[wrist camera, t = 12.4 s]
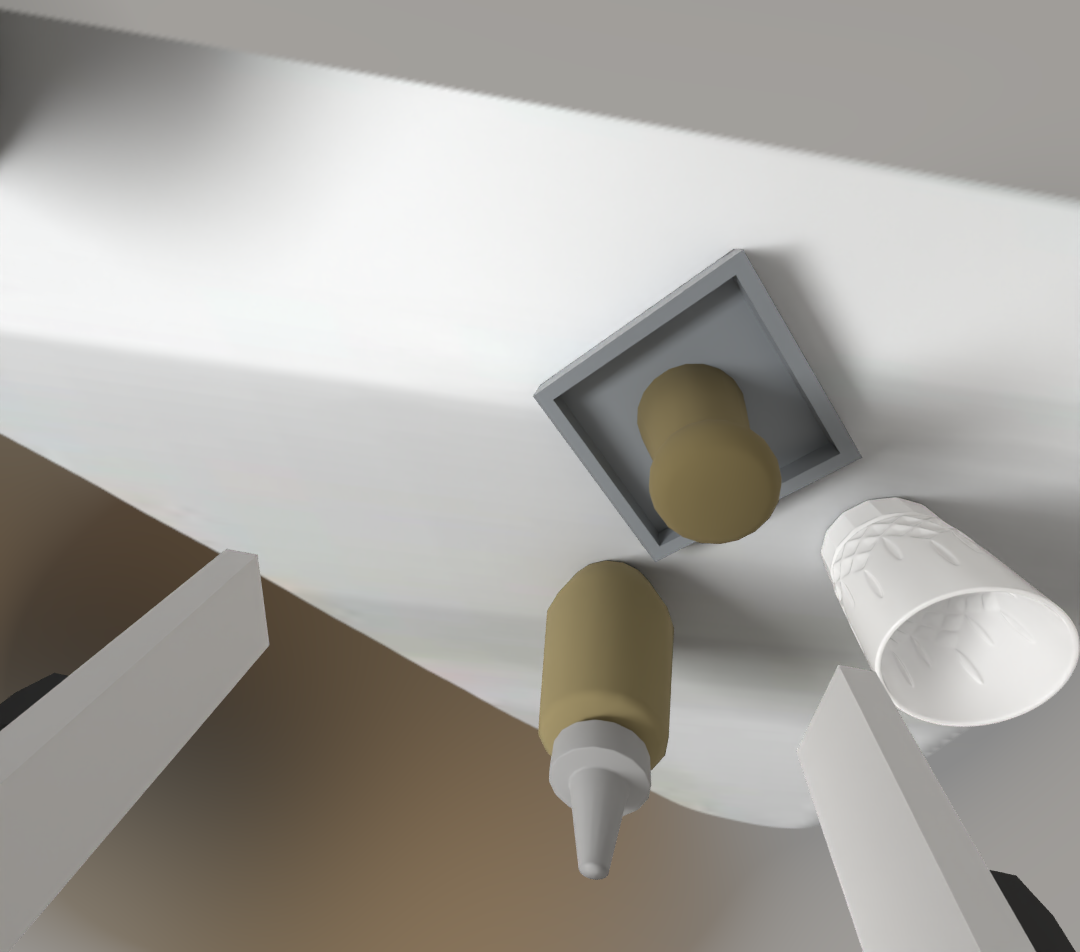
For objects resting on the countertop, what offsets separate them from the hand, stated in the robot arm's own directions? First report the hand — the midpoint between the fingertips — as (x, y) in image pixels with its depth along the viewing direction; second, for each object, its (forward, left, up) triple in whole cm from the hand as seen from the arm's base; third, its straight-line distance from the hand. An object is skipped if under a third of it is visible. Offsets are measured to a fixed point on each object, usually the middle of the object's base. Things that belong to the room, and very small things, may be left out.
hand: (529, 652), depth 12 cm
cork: (+4, +4, -21) cm, 22 cm away
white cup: (+17, +9, -22) cm, 29 cm away
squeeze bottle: (+12, -7, -22) cm, 26 cm away
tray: (+4, +4, -22) cm, 22 cm away
